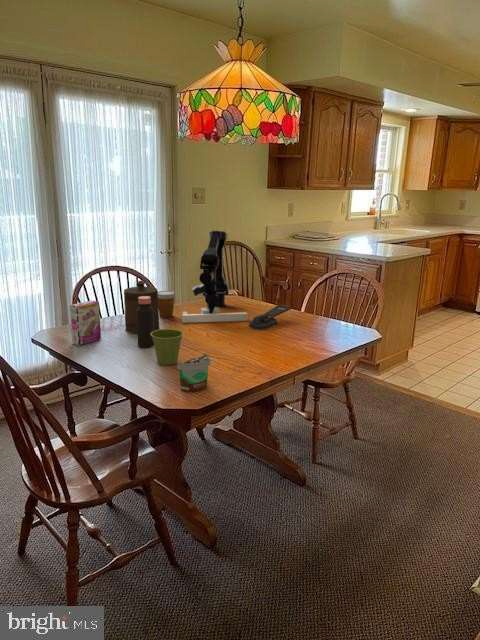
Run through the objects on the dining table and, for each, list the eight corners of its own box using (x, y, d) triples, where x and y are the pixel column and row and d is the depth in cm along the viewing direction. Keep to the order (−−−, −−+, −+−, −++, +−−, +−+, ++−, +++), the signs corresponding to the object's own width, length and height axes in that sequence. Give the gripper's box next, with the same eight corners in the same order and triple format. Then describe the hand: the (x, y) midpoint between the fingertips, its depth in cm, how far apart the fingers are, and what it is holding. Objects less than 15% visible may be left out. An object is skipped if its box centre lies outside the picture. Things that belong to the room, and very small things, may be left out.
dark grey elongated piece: (293, 306, 233) (261, 317, 215) (292, 320, 235) (261, 331, 217) (278, 303, 239) (246, 313, 220) (278, 316, 240) (246, 327, 222)
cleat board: (181, 317, 236) (181, 310, 235) (244, 315, 241) (244, 308, 240) (182, 322, 227) (182, 315, 226) (247, 320, 232) (247, 313, 231)
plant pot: (186, 366, 174) (186, 336, 171) (153, 369, 170) (152, 339, 167) (181, 355, 185) (180, 327, 181) (149, 358, 181) (148, 329, 178)
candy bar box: (79, 346, 193) (76, 306, 188) (72, 344, 196) (68, 304, 191) (102, 339, 202) (99, 301, 197) (94, 337, 204) (91, 299, 200)
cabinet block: (201, 317, 237) (201, 306, 235) (217, 317, 238) (217, 305, 237) (202, 320, 231) (202, 309, 230) (219, 320, 233) (219, 308, 231)
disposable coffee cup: (168, 312, 244) (168, 289, 240) (179, 316, 237) (179, 293, 234) (152, 316, 238) (151, 292, 234) (163, 320, 231) (162, 295, 227)
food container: (190, 397, 149) (190, 367, 146) (177, 391, 153) (176, 362, 150) (218, 385, 158) (218, 357, 155) (205, 380, 162) (205, 352, 159)
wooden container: (139, 322, 226) (137, 276, 220) (165, 327, 220) (164, 279, 214) (118, 331, 213) (115, 282, 207) (146, 336, 207) (144, 285, 201)
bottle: (134, 347, 193) (132, 298, 188) (143, 342, 199) (141, 294, 194) (149, 349, 191) (147, 300, 185) (158, 344, 197) (156, 296, 191)
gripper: (191, 275, 237) (191, 306, 242) (194, 284, 219) (194, 317, 224) (214, 275, 239) (213, 305, 244) (218, 284, 221) (218, 316, 226)
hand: (209, 310), depth 234 cm, fingers open, 8 cm apart
